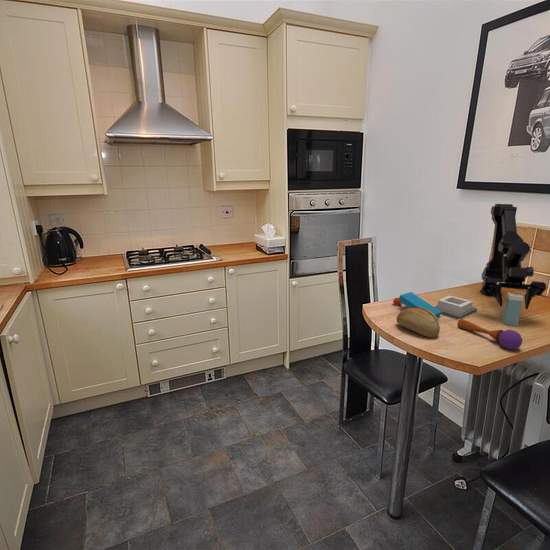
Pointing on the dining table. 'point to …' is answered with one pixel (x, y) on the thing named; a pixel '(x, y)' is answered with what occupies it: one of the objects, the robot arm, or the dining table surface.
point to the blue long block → (415, 302)
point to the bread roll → (419, 321)
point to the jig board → (455, 307)
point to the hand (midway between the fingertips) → (513, 307)
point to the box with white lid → (512, 308)
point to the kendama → (495, 334)
